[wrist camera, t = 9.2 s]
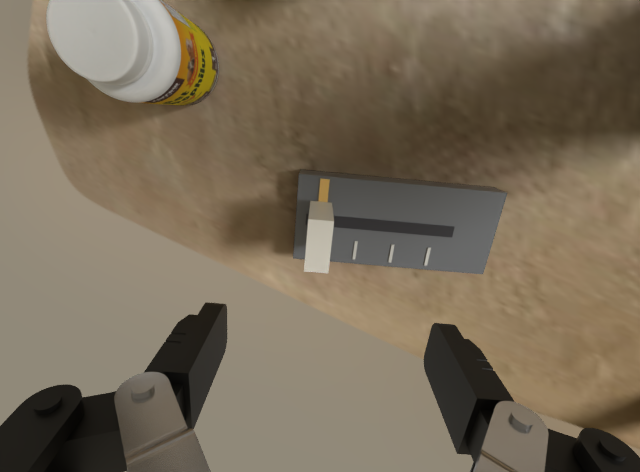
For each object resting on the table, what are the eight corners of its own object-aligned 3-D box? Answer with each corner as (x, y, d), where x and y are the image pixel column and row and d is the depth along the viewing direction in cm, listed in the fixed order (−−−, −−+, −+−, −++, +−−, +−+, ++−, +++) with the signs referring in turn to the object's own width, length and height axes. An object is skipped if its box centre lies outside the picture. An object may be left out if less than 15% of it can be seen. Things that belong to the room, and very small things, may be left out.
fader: (310, 198, 25) (308, 219, 20) (331, 200, 25) (334, 221, 20) (307, 242, 26) (303, 271, 21) (327, 243, 26) (328, 273, 21)
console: (300, 169, 26) (298, 174, 24) (494, 187, 27) (508, 193, 25) (295, 248, 29) (293, 258, 27) (472, 263, 29) (483, 274, 27)
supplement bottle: (196, 121, 25) (119, 127, 16) (131, 71, 24) (4, 43, 14) (237, 58, 24) (179, 21, 14) (169, 0, 22) (55, -83, 13)
